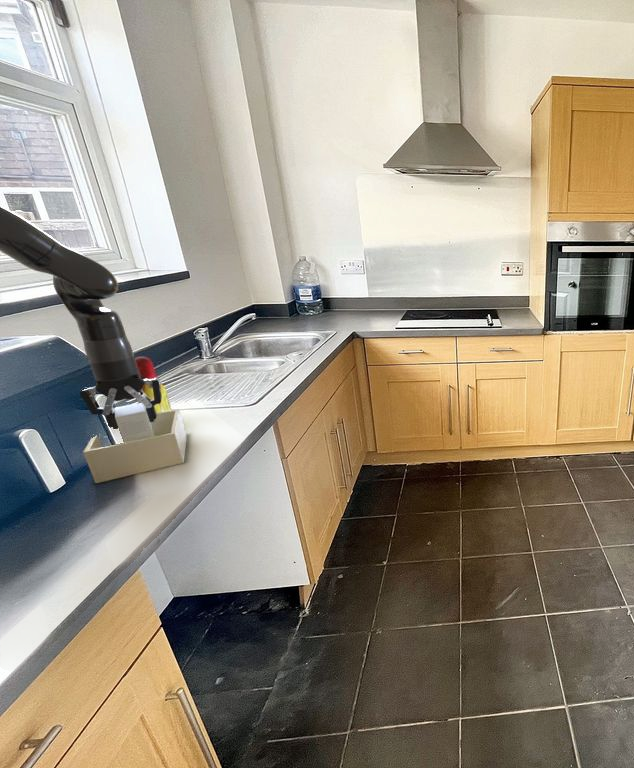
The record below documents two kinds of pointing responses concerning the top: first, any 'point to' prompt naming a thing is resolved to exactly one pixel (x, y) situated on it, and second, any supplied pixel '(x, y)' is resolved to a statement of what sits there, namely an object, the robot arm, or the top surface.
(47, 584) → the top surface
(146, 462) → the beige open box
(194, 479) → the top surface
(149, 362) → the bottle
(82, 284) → the robot arm
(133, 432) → the small box
